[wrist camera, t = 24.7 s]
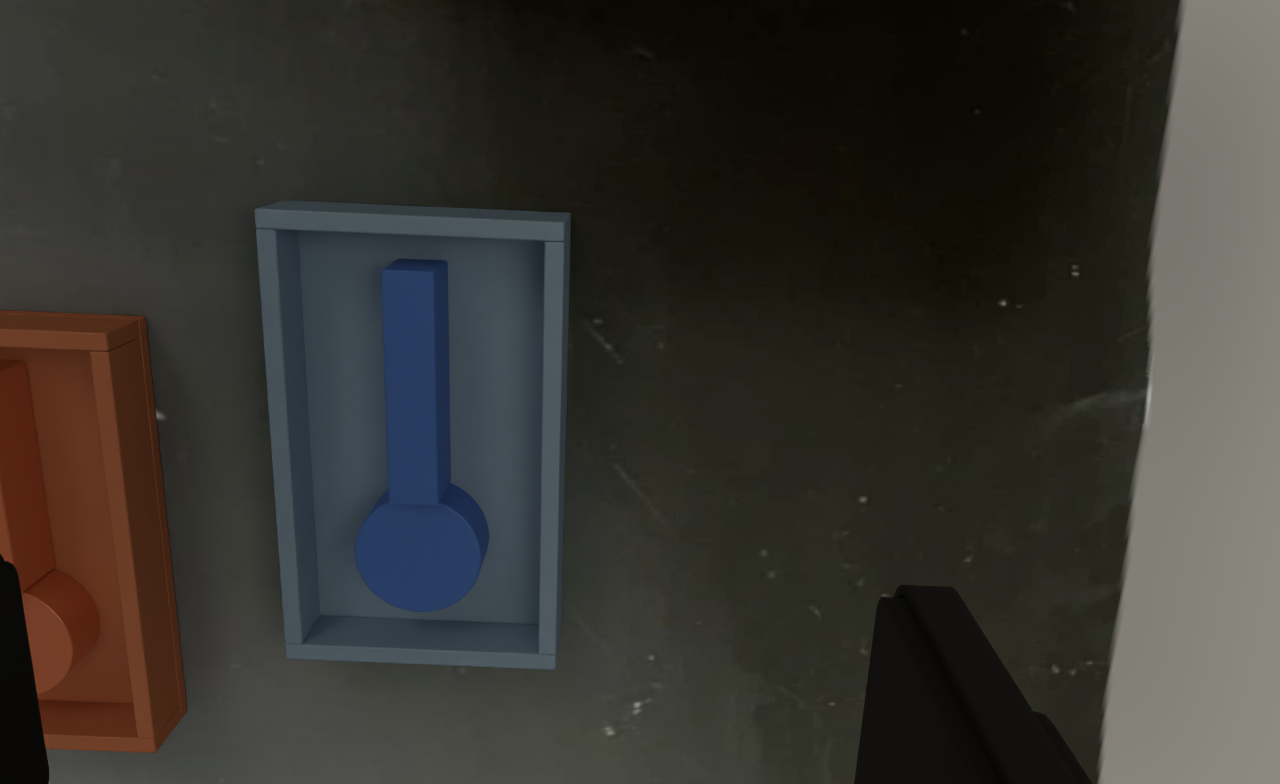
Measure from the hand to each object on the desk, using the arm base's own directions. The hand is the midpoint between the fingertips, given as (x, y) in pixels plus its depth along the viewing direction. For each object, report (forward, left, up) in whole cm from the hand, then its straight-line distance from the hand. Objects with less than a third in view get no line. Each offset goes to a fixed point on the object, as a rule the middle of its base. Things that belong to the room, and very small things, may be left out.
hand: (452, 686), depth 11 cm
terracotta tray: (+9, -19, -22) cm, 31 cm away
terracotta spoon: (+9, -19, -22) cm, 30 cm away
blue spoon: (+5, -5, -22) cm, 23 cm away
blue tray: (+5, -5, -22) cm, 23 cm away
